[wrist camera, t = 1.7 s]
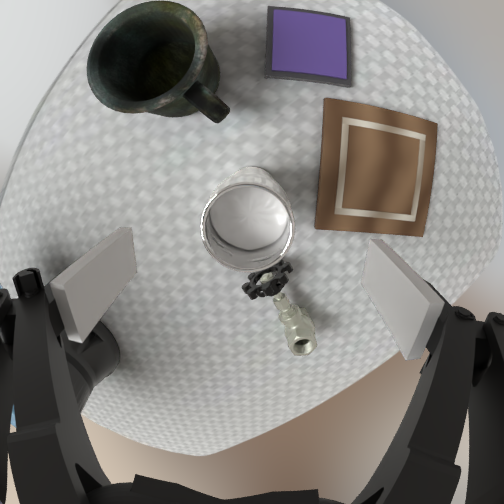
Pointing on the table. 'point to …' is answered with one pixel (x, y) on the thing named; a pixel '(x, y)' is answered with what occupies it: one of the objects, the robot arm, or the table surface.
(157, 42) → the mug
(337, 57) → the ink pad
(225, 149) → the table surface
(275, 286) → the valve
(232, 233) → the beer glass
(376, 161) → the board
